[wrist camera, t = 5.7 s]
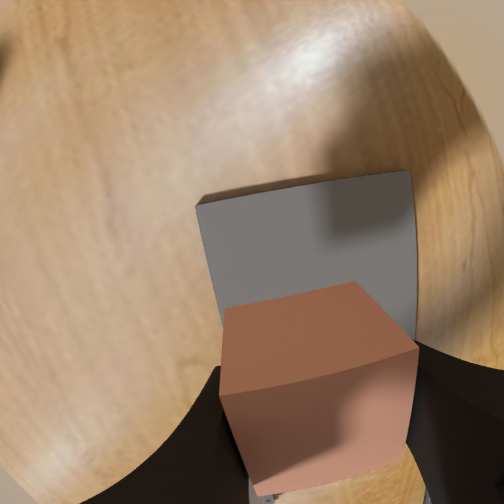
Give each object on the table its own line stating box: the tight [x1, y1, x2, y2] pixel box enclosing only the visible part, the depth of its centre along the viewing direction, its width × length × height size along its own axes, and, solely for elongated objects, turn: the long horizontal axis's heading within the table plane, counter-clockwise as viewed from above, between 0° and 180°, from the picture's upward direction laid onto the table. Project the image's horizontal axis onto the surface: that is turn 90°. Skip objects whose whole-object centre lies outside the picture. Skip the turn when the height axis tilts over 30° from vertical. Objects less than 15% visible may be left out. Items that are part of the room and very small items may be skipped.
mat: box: [195, 170, 417, 340], centre depth 18 cm, size 12×12×1 cm
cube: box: [219, 281, 419, 496], centre depth 9 cm, size 4×4×4 cm
